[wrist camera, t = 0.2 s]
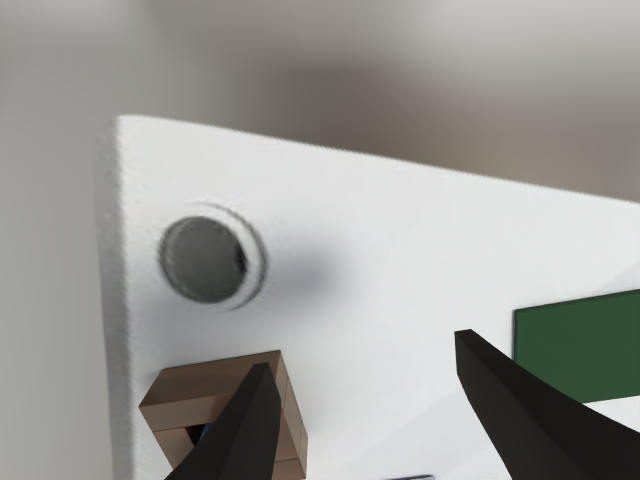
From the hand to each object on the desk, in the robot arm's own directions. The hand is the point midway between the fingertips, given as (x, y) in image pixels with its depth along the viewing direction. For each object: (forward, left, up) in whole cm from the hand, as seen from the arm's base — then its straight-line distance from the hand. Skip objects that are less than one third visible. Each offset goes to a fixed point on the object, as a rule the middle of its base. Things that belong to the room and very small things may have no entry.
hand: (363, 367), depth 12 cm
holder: (-12, +11, -10) cm, 19 cm away
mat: (-12, -16, -10) cm, 22 cm away
